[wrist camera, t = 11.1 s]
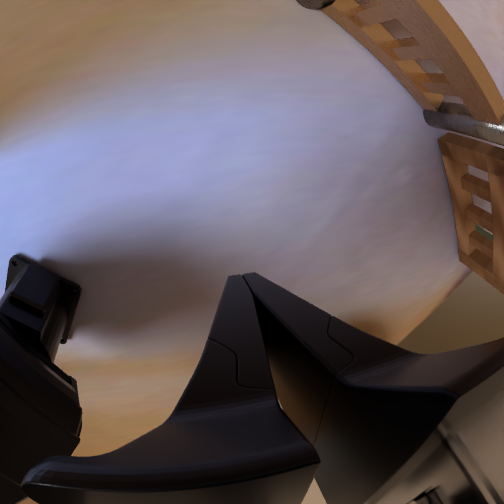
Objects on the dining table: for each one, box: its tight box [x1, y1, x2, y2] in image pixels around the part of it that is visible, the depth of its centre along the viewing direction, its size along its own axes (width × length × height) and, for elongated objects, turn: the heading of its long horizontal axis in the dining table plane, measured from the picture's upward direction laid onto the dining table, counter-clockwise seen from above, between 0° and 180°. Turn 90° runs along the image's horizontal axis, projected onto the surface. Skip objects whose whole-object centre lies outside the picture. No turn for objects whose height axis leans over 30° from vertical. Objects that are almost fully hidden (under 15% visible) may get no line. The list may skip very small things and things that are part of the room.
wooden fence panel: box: [296, 0, 504, 146], centre depth 14 cm, size 2×17×9 cm, turn 58°
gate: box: [438, 133, 504, 294], centre depth 22 cm, size 15×2×8 cm, turn 32°
